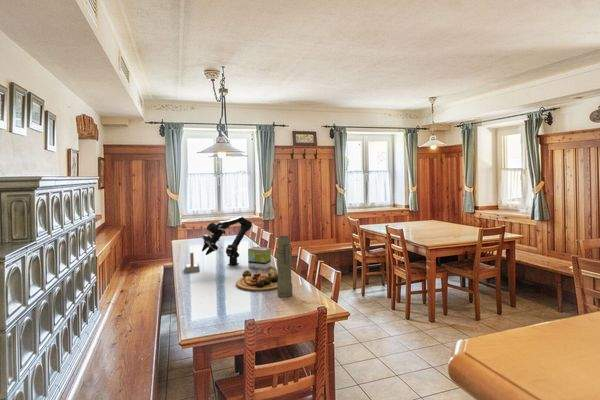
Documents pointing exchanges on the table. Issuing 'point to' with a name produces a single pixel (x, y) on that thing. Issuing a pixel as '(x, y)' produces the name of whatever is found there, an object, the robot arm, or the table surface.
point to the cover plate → (191, 261)
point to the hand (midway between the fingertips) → (203, 252)
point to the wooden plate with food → (258, 281)
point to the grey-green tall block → (284, 267)
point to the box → (192, 269)
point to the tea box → (259, 257)
